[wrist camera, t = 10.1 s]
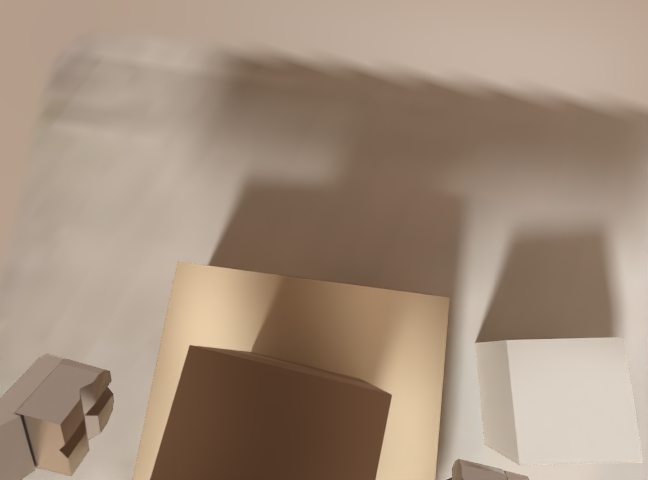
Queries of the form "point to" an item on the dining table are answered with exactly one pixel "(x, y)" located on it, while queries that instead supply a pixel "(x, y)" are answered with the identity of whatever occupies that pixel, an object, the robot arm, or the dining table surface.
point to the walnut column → (269, 421)
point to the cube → (558, 401)
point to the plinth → (312, 349)
